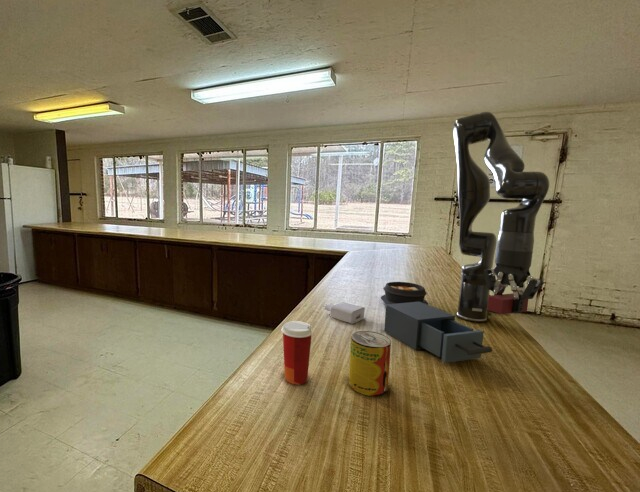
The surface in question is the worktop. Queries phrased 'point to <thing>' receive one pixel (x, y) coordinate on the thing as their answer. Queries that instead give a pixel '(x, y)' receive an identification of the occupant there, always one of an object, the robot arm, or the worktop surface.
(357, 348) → the food can
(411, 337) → the cabinet
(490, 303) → the red rectangular box
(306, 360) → the paper cup
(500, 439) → the worktop surface
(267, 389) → the worktop surface
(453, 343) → the drawer
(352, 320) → the charger
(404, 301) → the casserole
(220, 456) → the worktop surface
